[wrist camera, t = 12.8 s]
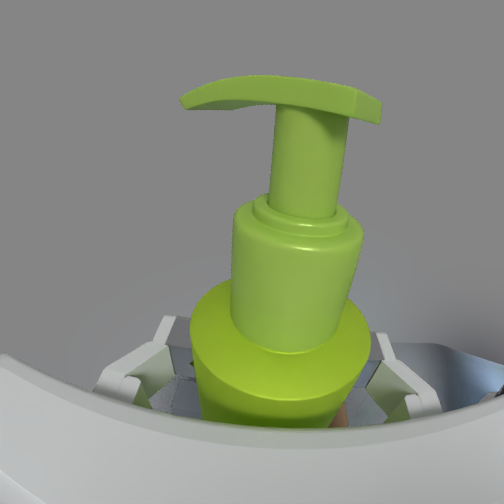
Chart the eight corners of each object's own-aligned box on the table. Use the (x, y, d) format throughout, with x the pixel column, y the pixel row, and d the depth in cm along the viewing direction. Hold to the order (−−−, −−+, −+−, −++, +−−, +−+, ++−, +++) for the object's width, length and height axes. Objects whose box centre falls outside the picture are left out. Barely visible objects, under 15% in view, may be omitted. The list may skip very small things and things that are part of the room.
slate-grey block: (216, 401, 37) (214, 384, 35) (210, 429, 33) (208, 414, 31) (184, 396, 38) (179, 378, 35) (176, 423, 33) (171, 407, 31)
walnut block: (333, 413, 36) (343, 397, 33) (336, 441, 31) (348, 427, 29) (302, 414, 36) (309, 398, 34) (303, 442, 32) (311, 429, 29)
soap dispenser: (240, 399, 19) (261, 91, 10) (314, 449, 15) (447, 119, 6) (182, 445, 15) (116, 84, 6) (259, 508, 11) (432, 59, 2)
